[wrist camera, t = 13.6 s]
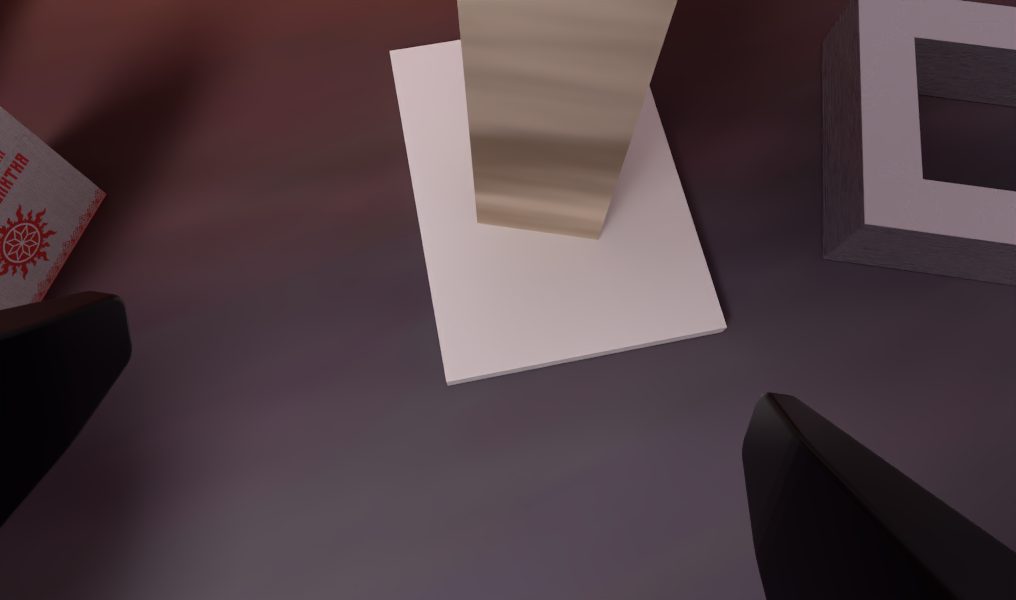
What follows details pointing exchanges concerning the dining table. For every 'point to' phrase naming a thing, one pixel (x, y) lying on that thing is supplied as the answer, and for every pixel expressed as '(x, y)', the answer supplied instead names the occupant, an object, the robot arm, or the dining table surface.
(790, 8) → the dining table surface
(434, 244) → the tile
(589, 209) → the wooden peg
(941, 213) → the socket
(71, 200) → the white printed carton
